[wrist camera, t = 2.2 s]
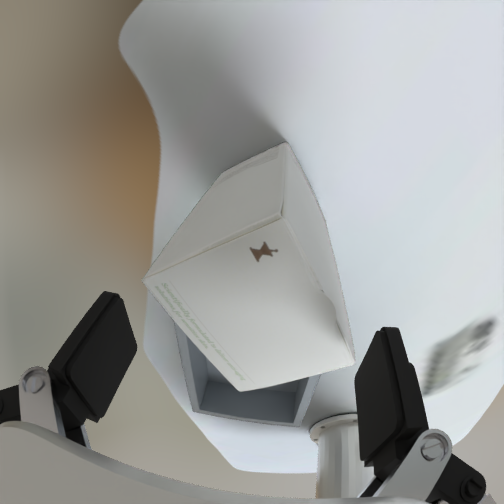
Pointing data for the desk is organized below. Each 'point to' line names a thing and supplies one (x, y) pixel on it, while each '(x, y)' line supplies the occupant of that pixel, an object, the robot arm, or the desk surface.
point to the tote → (241, 403)
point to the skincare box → (257, 277)
